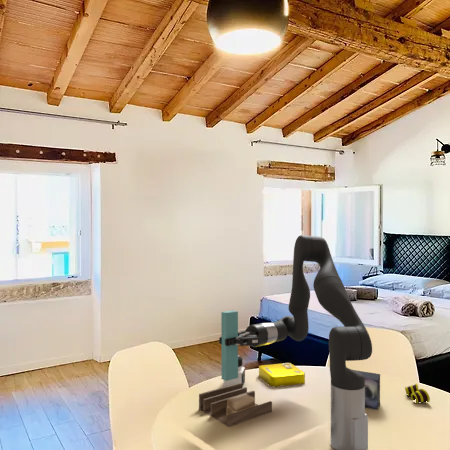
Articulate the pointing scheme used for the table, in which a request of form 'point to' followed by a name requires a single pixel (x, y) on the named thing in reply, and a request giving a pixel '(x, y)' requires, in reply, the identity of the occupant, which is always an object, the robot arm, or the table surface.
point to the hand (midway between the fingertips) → (222, 341)
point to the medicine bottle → (240, 375)
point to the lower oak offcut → (230, 411)
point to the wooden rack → (217, 404)
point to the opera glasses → (417, 393)
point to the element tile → (281, 374)
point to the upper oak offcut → (240, 402)
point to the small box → (371, 389)
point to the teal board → (230, 352)
